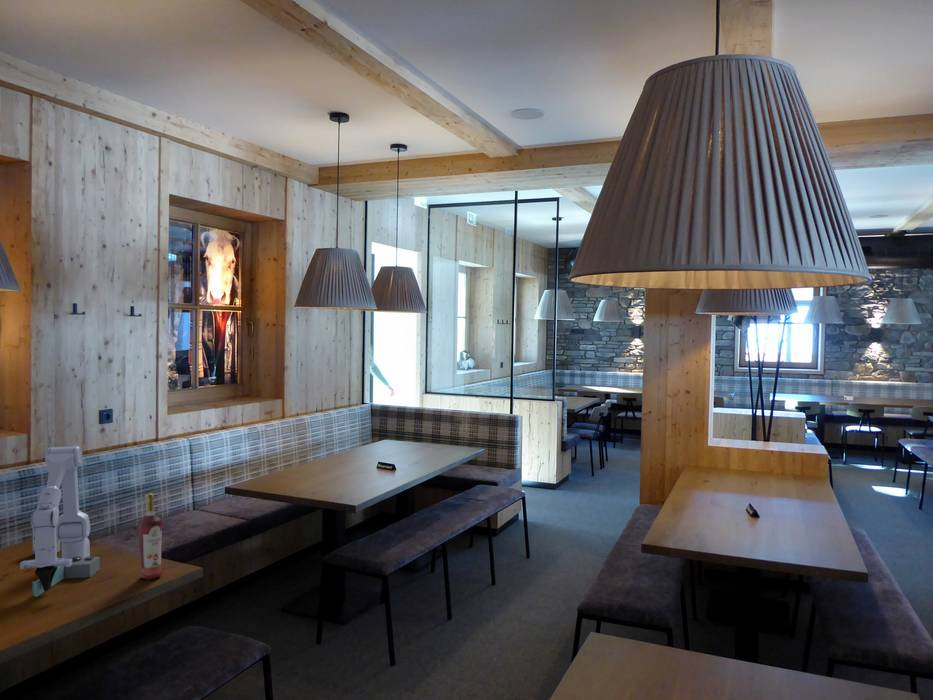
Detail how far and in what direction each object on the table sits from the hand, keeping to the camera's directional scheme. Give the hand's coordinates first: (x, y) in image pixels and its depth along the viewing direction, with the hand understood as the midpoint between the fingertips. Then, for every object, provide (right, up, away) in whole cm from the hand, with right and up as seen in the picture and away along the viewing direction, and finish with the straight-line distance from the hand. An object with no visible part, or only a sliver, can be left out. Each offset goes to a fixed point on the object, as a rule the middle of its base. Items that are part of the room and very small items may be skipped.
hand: (47, 589), depth 213 cm
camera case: (+1, -1, +17) cm, 17 cm away
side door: (-3, -1, +5) cm, 6 cm away
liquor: (+26, -1, +14) cm, 30 cm away
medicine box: (-24, 0, +38) cm, 45 cm away
